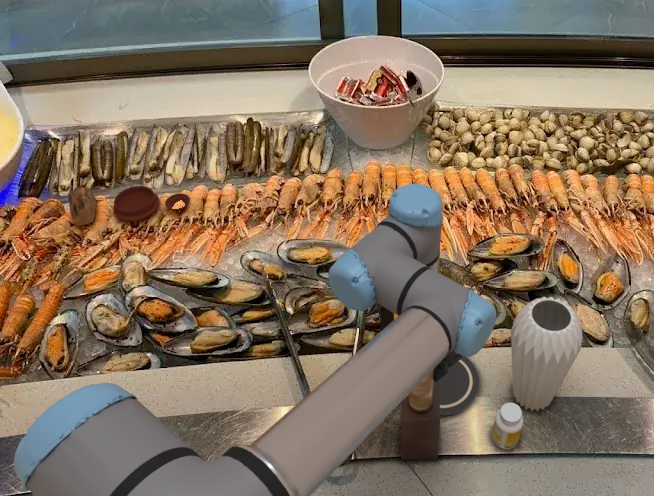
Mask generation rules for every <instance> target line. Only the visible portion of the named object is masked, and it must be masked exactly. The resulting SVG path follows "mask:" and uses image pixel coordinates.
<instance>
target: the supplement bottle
mask: <svg viewBox="0 0 654 496" xmlns="http://www.w3.org/2000/svg"><path fill="white" fill-rule="evenodd" d="M523 426H524V416H523V412H522V408H521V406H520V405H518V404H517V403H514V402H506V403H503V405H501V407H500V409H499V410H497V412H496V414H495V417H494V422H493V427H492V431H491V439H492V441H493V443H494V445H496V446H497V447H498V448H500V449H503V450H511V449H514V448H516V446H517V445H518V443H519V441H520V437H521V434H522V429H523Z"/></svg>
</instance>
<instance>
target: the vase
mask: <svg viewBox="0 0 654 496" xmlns="http://www.w3.org/2000/svg"><path fill="white" fill-rule="evenodd" d="M578 316H579V315H577V313H576V311H575V310H574V309H573V307H572V306H570V305H569V304H568V302H567V301H562V300H561V298H556V299H554V297H553V296H549V297H546V296H542V297H540V298H535V299H533V300H531V301H530V302H527V303H526V305H525V306H524V307H522V308H521V309H520V310H519V312H518V314H517V315H516V316H515V318H514V319H513V321H512V327H511V329H510V347H511V375H512V377H511V378H512V392H513V393H512V394H513V397H514V398H515V402H516V403H520V404H519V407H524V409H525V410H530V411H531V412H533V411H534V410H535V411H537V412H539V410H540V409H541V410H543V411H544V410H545V408H546V407H549V406H550V404H551V403H552V401H553V400H554V397H555V396H556V394H557V393H558V391H559V389H560V387H561V386H562V384H563V382H564V380H565V378H566V377H567V375H568V374H569V371H570V369H571V368H572V366H573V364H574V362H575V361H576V359H577V357H578V355H579V353H580V352H581V350H582V342H583V340H584V339H583V327H582V324H581V322H580V320H579V317H578Z"/></svg>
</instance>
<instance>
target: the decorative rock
mask: <svg viewBox="0 0 654 496" xmlns="http://www.w3.org/2000/svg"><path fill="white" fill-rule="evenodd" d="M67 199H68V204H69V205H68V206H69V207H68V208H69V213H70V217H71V220H72V223H73V224H74V225H75V226H77V227H81V226H85V225H89V224H90V223H93V222H94V221H95V216H96V210H97V206H98V205H97V204H98V202H97V198H96V196H95V195H94V193H93V191H92V190H91V189H87V188H86V187H85V186H76V187H75V188H74V189H73V190H71V191H70V192H69V193H68V195H67Z"/></svg>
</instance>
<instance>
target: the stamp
mask: <svg viewBox="0 0 654 496" xmlns="http://www.w3.org/2000/svg"><path fill="white" fill-rule="evenodd" d="M433 373H434V369H433V370H432V371H431V372H430V373H429V374H428V375H427V376H426V377H425V378H424V379H423V380H422V381H421V382H420V383H419V384H418V385H417V386H416V387H415V388H414V389H413V390H412V391H411V392H410V393H409V395H408V397H407V404H408V407H409V408H410V410H411V411H413V412H415V413H418V414H423V413H426V412H428V411H430V410H431V409H432V407H433V404H434V398H433Z"/></svg>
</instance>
